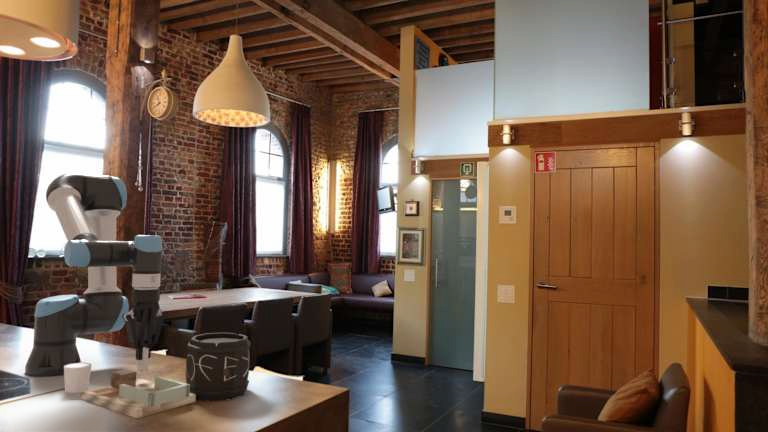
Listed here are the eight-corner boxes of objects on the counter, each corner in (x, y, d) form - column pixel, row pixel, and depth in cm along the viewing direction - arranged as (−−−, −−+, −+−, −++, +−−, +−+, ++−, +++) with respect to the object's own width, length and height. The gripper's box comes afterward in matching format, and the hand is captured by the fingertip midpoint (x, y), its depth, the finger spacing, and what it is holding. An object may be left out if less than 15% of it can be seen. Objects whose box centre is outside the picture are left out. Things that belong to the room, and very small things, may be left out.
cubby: (119, 396, 142) (119, 384, 142) (158, 386, 152) (158, 376, 152) (150, 406, 135) (151, 394, 135) (189, 395, 144) (190, 384, 144)
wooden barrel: (188, 406, 142) (191, 345, 143) (179, 387, 158) (182, 333, 159) (256, 398, 151) (259, 341, 151) (242, 382, 167) (244, 330, 167)
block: (110, 386, 150) (111, 372, 150) (126, 383, 154) (126, 369, 154) (120, 389, 148) (121, 374, 148) (135, 386, 151) (136, 371, 152)
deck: (81, 398, 145) (81, 391, 145) (139, 385, 159) (140, 378, 159) (137, 418, 132) (137, 410, 132) (195, 401, 146) (195, 394, 146)
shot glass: (96, 388, 155) (97, 363, 155) (75, 394, 148) (76, 369, 149) (77, 385, 157) (79, 361, 157) (56, 391, 151) (57, 366, 151)
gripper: (133, 290, 150) (129, 377, 149) (173, 287, 161) (170, 368, 160) (117, 288, 154) (113, 373, 153) (158, 286, 165) (154, 364, 164)
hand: (142, 370), depth 156 cm, fingers closed
